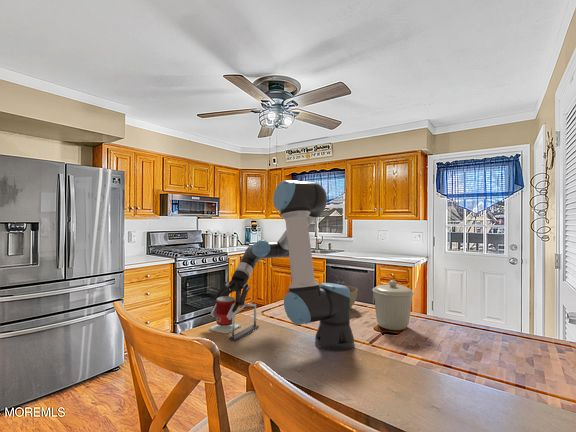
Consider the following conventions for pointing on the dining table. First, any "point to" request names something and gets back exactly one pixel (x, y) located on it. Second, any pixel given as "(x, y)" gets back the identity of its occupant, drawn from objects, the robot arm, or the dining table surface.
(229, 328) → the sage mat
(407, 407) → the dining table surface
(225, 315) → the canned food
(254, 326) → the metal handle
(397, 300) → the canister
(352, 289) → the planter bowl
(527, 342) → the dining table surface
